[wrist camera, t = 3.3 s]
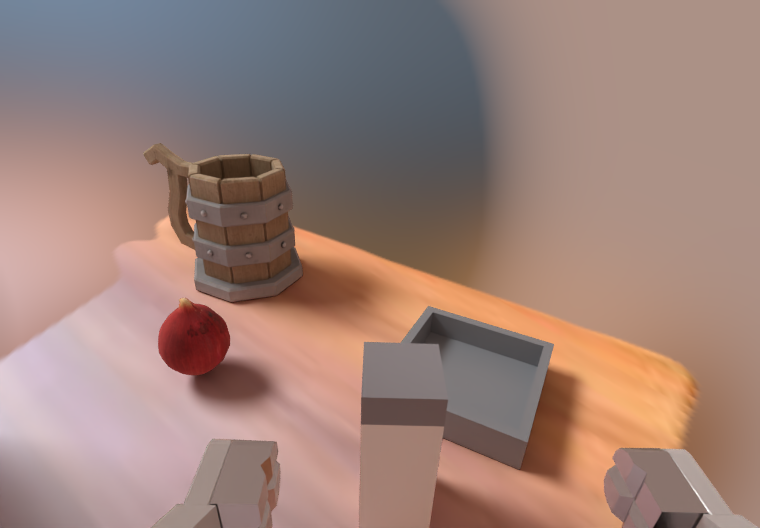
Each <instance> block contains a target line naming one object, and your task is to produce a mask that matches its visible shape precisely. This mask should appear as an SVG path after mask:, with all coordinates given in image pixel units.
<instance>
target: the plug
mask: <svg viewBox="0 0 760 528" xmlns="http://www.w3.org/2000/svg"><path fill="white" fill-rule="evenodd" d="M447 404H448V395H447V390H446V384H445V378H444V373H443V367H442V361H441V356H440V350H439V344H417V343H381V342H364V356H363V376H362V397H361V446H360V496H359V528H429V526H430V520H431V513H432V506H433V499H434V493H435V486H436V479H437V472H438V465H439V459H440V452H441V445H442V438H443V432H444V425H445V418H446V411H447Z"/></svg>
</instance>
